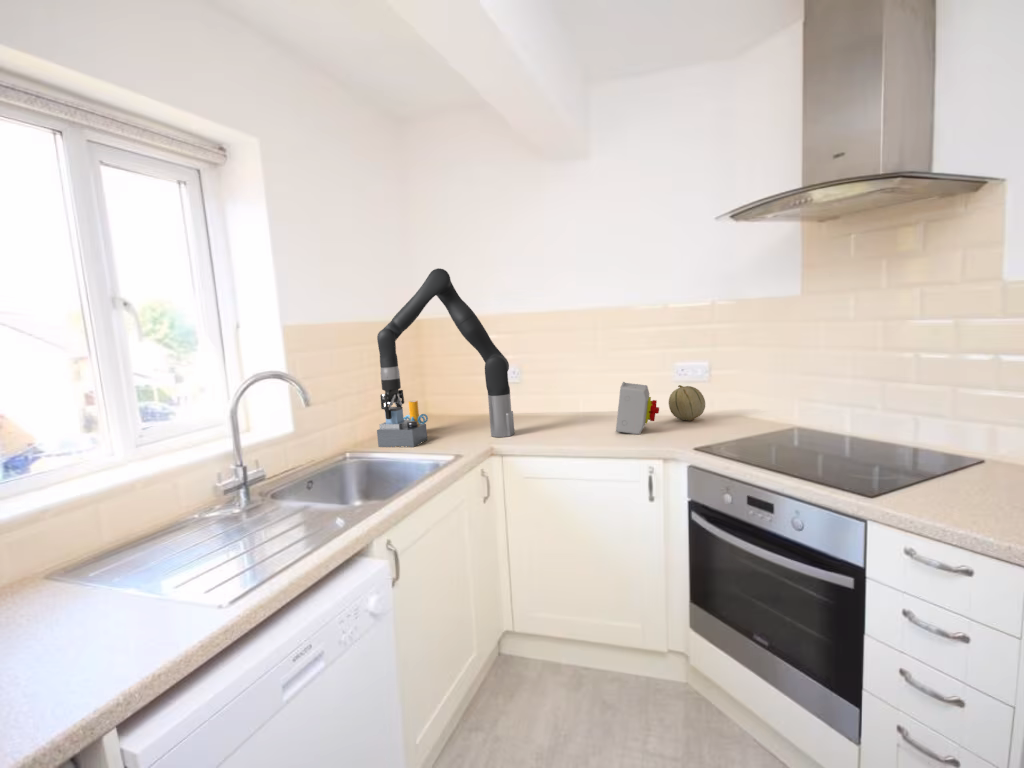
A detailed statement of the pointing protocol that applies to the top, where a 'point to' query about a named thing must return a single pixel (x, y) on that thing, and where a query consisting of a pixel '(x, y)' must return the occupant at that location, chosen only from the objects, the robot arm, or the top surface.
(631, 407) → the electrical switch box
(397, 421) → the grey lidded box
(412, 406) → the cylinder
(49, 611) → the top surface
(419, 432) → the grey boxy piece
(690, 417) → the cantaloupe
